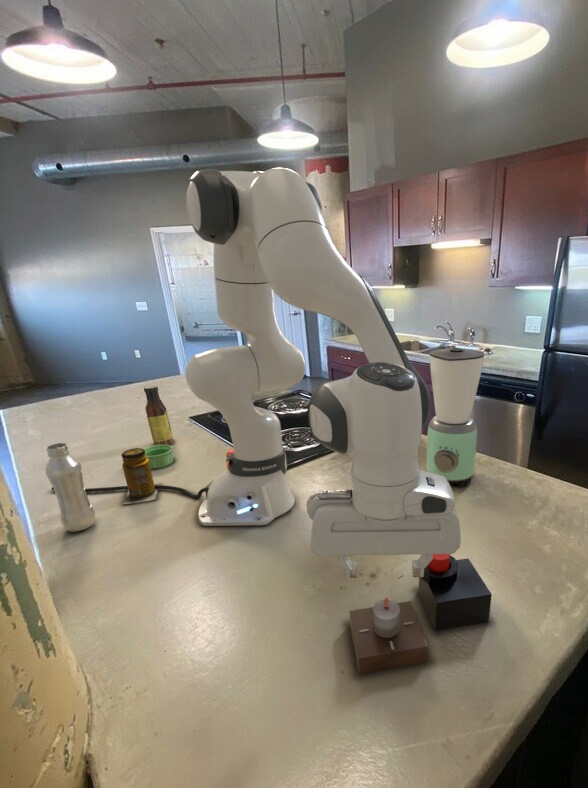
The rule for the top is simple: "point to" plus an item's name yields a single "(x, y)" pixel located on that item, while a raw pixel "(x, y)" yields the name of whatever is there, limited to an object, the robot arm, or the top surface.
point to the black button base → (455, 596)
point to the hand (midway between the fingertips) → (384, 574)
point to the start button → (439, 563)
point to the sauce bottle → (157, 417)
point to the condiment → (138, 476)
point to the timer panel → (387, 641)
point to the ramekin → (159, 455)
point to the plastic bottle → (69, 488)
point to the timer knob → (386, 618)
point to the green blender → (453, 413)
